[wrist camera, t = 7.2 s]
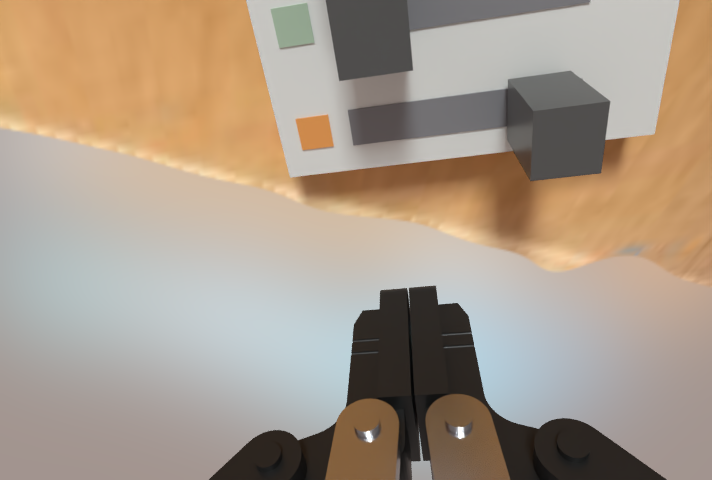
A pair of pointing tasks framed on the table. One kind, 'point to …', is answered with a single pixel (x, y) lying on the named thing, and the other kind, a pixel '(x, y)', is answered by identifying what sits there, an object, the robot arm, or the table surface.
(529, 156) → the block
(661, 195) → the table surface
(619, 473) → the robot arm
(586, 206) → the table surface
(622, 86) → the breaker panel
